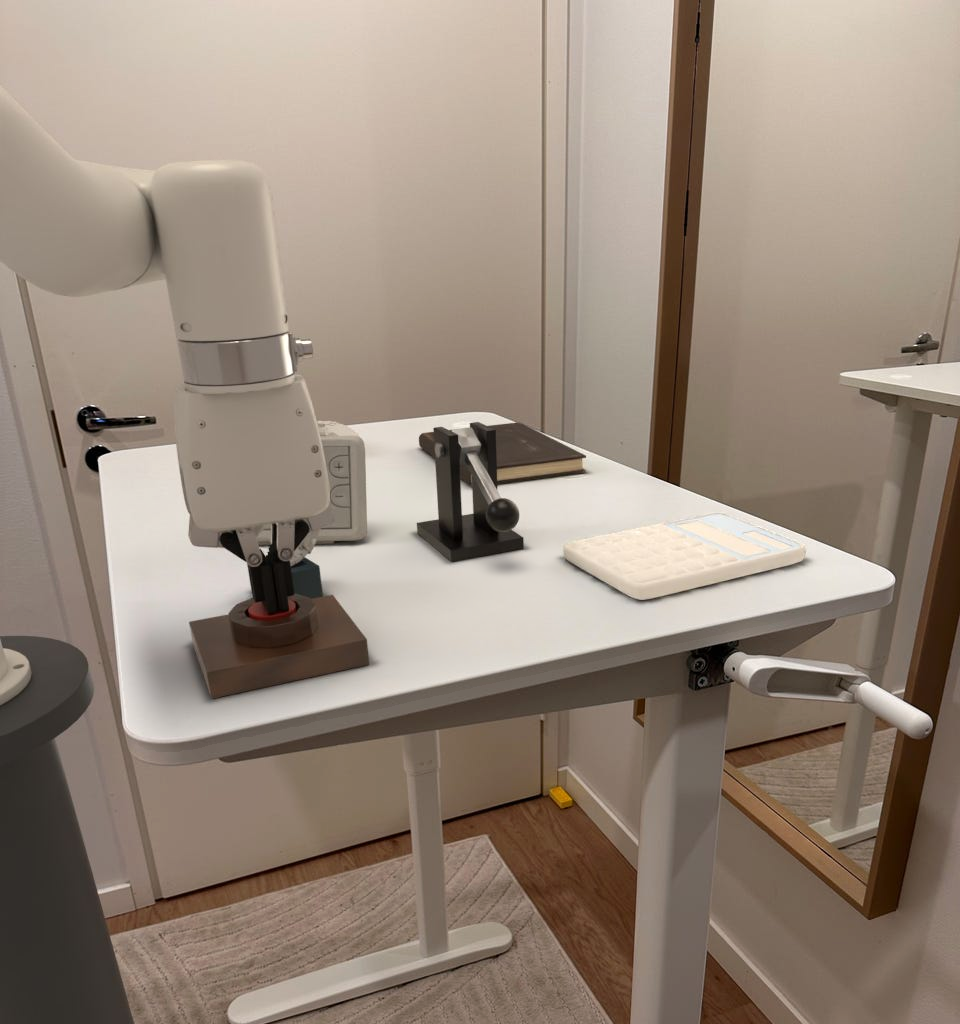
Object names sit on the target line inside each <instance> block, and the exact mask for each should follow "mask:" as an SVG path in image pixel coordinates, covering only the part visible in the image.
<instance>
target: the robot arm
mask: <svg viewBox="0 0 960 1024" xmlns="http://www.w3.org/2000/svg"><path fill="white" fill-rule="evenodd" d="M274 207H275V204H274V197H273V192H272V186H271V182H270V180H269V177H268V176H267V173H265V171H264V169H262V167H260V166H259V165H257V164H256V163H253V162H251V161H248V160H247V161H246V160H239V159H201V160H185V161H184V160H183V161H176V162H171V163H165V164H164V165H162V166H159V167H158V168H157V169H143V168H133V167H125V166H120V165H119V166H117V165H111V164H105V163H104V164H103V163H97V162H92V161H86V160H79V159H75V158H74V157H73V156H71V154H69V153H68V152H67V151H66V150H65V148H63V147H62V146H61V145H60V144H59V143H58V142H57V141H56V140H55V139H54V138H53V137H52V136H51V135H50V134H49V133H48V131H47V132H46V130H45V129H44V128H43V127H42V126H41V125H40V124H38V123H37V122H36V120H34V118H33V117H32V116H31V115H30V114H29V113H28V112H27V111H26V110H25V108H23V106H21V105H20V103H18V102H17V100H16V99H14V97H12V96H11V94H10V93H9V92H8V91H7V90H6V89H5V88H4V87H3V86H2V85H1V84H0V262H1V263H2V264H3V265H4V266H5V267H6V268H8V269H9V270H11V272H13V273H15V274H17V276H18V277H20V278H22V279H23V280H25V281H27V282H28V283H30V284H32V285H33V286H35V287H36V288H39V289H41V290H44V291H46V292H49V293H52V294H54V295H57V296H64V297H71V298H77V297H78V298H79V297H88V296H93V295H96V294H101V293H106V292H110V291H117V290H122V289H123V290H124V289H127V288H131V287H135V286H140V285H144V284H148V283H153V282H159V281H163V280H165V281H166V282H165V283H166V287H167V293H168V299H169V304H170V310H171V315H172V321H173V326H174V332H175V338H176V339H177V340H176V343H177V349H178V355H179V360H180V366H181V371H182V372H181V373H182V377H183V381H184V384H181V385H178V386H175V387H174V388H173V402H172V403H173V404H172V405H173V406H172V407H173V426H174V437H175V438H174V439H175V446H176V447H175V448H176V454H177V463H178V470H179V475H180V482H181V488H182V494H183V499H184V504H185V507H186V510H187V513H188V514H189V520H188V535H187V536H188V539H189V542H190V543H191V545H192V546H194V547H199V548H212V549H213V548H215V549H218V548H221V549H222V548H223V549H225V550H226V551H228V552H230V553H232V554H233V555H234V556H236V557H237V558H239V559H240V560H242V561H244V562H245V563H246V565H247V571H248V577H249V579H248V580H249V583H250V590H251V595H252V597H253V599H254V601H255V603H256V602H262V604H263V606H264V608H265V609H266V611H267V613H268V615H271V614H275V612H277V611H278V610H279V611H282V612H286V611H289V604H288V596H293V595H294V587H293V580H292V573H291V566H290V560H291V559H292V558H293V556H294V551H295V550H296V549H297V547H298V546H299V545H300V543H301V542H302V541H303V540H304V538H305V537H306V536H307V534H308V533H310V532H312V531H313V532H314V531H316V530H318V529H321V528H323V527H326V526H328V525H330V524H332V523H333V522H334V519H335V517H334V514H333V511H332V509H331V506H330V488H329V480H328V473H327V468H326V462H325V457H324V452H323V447H322V442H321V438H320V433H319V428H318V424H317V421H318V420H317V419H318V418H317V416H316V412H315V408H314V405H313V404H314V403H313V402H312V398H311V394H310V391H309V388H308V385H307V382H306V379H305V378H304V376H303V375H301V374H297V373H296V372H298V367H297V366H299V362H303V361H304V360H307V359H308V360H309V359H313V357H314V348H313V344H312V340H311V338H305V339H303V338H302V339H301V338H300V337H295V335H293V332H291V331H290V324H289V323H290V322H289V317H288V315H289V314H288V308H287V301H286V294H285V293H286V291H285V286H284V278H283V272H282V271H283V270H282V262H281V261H282V260H281V255H280V254H281V253H280V246H279V237H278V228H277V222H276V213H275V208H274ZM267 524H271V545H269V546H268V551H267V554H266V555H265V553H264V551H263V550H262V548H260V545H258V542H257V539H256V536H255V533H254V530H253V527H255V526H261V525H267ZM265 557H266V558H265ZM277 608H278V610H277ZM31 674H32V672H31V668H30V664H29V661H28V660H27V658H26V657H25V656H24V655H22V654H21V653H19V652H16V651H13V650H10V649H5V648H3V647H2V644H1V640H0V706H1V705H3V704H5V703H6V702H8V701H10V700H11V699H12V698H14V697H15V696H17V695H18V694H19V693H20V692H21V691H22V690H23V689H24V688H25V687H26V686H27V684H28V683H29V681H30V679H31Z"/></svg>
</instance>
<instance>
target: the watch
mask: <svg viewBox="0 0 960 1024" xmlns="http://www.w3.org/2000/svg"><path fill="white" fill-rule="evenodd" d="M265 526H266V525H261V526H255V527H253V530H254V533H255V536H256V538H257V537H258V536H259V535H260V534H261V532H262V531H263V530H264V528H265ZM319 533H320V529H318V530H316V531H314V532H313V531H312V532H310V533H308V534H307V536H306V537H305V538H304V540H303V541H302V542H301V543H300V545H299V546H298V547H297V549H296V550H295V551H294V556H293V558H292V559H291V560H290V566H291V573H292V580H293V587H294V594H299V595H302V596H306V597H309V598H311V599H313V598H318V597H324V593H323V585H322V577H321V569H320V567H321V566H320V565H318V564H317V563H315V562H314V561H312V560H310V559H309V558H307V557H306V556H307V555H310V554H311V553H312V551H313V549H314V548H315V546H316V544H315V543H316V541H317V538H318V536H319ZM265 558H266V556H265Z"/></svg>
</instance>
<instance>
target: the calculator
mask: <svg viewBox="0 0 960 1024" xmlns="http://www.w3.org/2000/svg"><path fill="white" fill-rule="evenodd" d="M562 551H563V552H562V553H563V557H564V558H565V559H566V561H568V562H569V563H571V564H573V565H574V566H576V567H578V568H580V569H581V570H583V571H585V572H586V573H588V574H589V575H592V576H593V577H595V578H596V579H599V580H600V581H601V582H604V583H606V584H607V585H608V586H610V587H613V588H614V589H615V590H617V591H619V592H620V593H623V594H624V595H626V596H628V597H630V598H632V599H635V600H637V601H639V600H640V601H645V600H651V599H655V598H660V597H665V596H668V595H672V594H677V593H680V592H684V591H689V590H692V589H693V590H694V589H696V588H701V587H704V586H709V585H713V584H718V583H721V582H725V581H729V580H733V579H738V578H742V577H747V576H750V575H754V574H759V573H762V572H766V571H770V570H774V569H775V570H776V569H779V568H782V567H783V568H784V567H787V566H791V565H795V564H798V563H801V562H802V561H803V560H804V559H805V558H806V555H807V547H806V545H805V544H804V543H802V542H801V541H798V540H796V539H793V538H791V537H788V536H785V535H783V534H781V533H778V532H776V531H773V530H770V529H767V528H765V527H763V526H760V525H758V524H755V523H752V522H750V521H748V520H744V519H742V518H739V517H737V516H735V515H732V514H729V513H726V512H721V511H719V512H710V513H709V512H708V513H705V514H704V513H703V514H699V515H694V516H689V517H685V518H680V519H675V520H670V521H664V522H660V523H656V524H651V525H645V526H641V527H636V528H632V529H626V530H622V531H617V532H612V533H611V532H610V533H607V534H602V535H597V536H592V537H587V538H583V539H582V538H581V539H577V540H572V541H568V542H567V543H565V544H564V545H563V550H562Z"/></svg>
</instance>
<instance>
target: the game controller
mask: <svg viewBox="0 0 960 1024" xmlns="http://www.w3.org/2000/svg"><path fill="white" fill-rule="evenodd" d="M317 424H318V428H319V433H320V435H326V436H358V437H360V435H359V433H357V432H356V431H355V430H354V429H353V428H351V427H349V426H348V425H346V424H343V423H340V422H337V421H332V420H325V421H324V420H317Z"/></svg>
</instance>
